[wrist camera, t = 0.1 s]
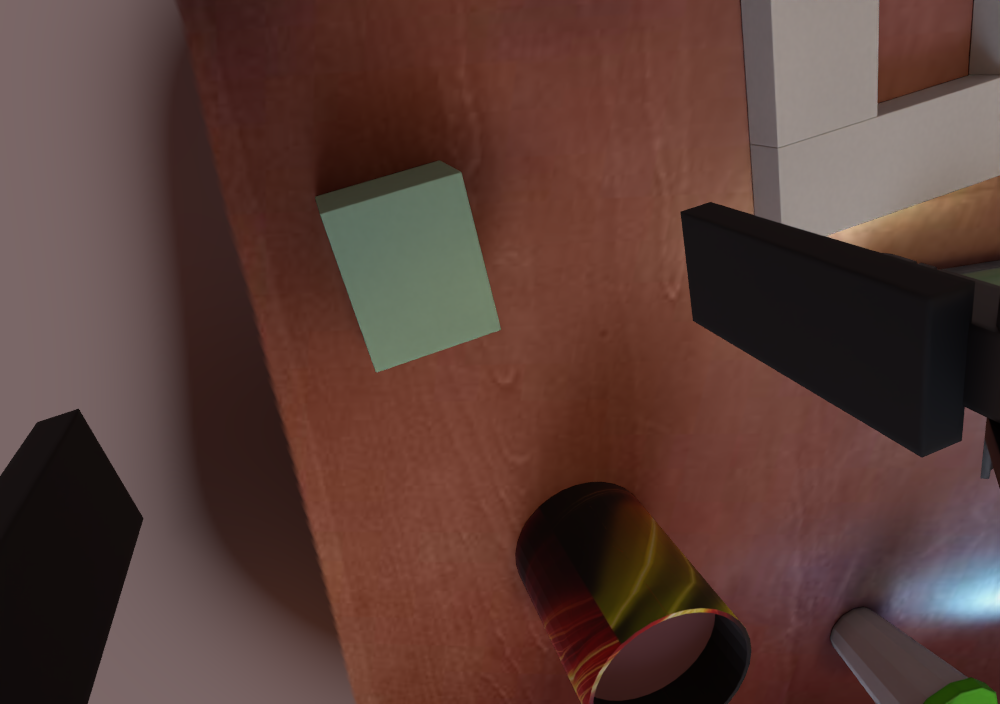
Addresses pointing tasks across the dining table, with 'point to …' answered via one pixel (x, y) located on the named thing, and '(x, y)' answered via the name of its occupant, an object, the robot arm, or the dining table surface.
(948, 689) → the cup
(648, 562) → the mug
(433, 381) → the dining table surface
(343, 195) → the green block
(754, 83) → the base pad
